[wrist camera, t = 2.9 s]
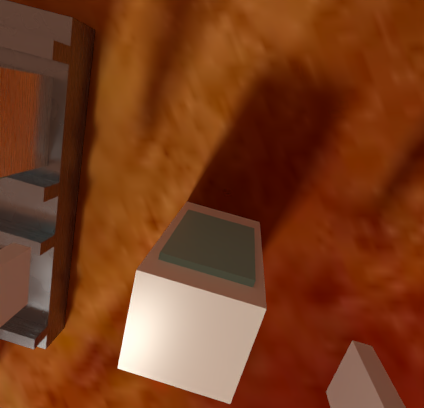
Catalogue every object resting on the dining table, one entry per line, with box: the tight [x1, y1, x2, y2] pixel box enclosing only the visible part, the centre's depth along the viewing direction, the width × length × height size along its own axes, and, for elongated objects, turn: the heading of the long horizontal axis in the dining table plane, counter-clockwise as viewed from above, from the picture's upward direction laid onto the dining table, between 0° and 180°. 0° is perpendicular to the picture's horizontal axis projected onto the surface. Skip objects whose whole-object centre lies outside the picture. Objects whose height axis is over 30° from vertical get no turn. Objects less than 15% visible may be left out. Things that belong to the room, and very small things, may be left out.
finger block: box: [118, 202, 267, 404], centre depth 14 cm, size 5×4×8 cm
